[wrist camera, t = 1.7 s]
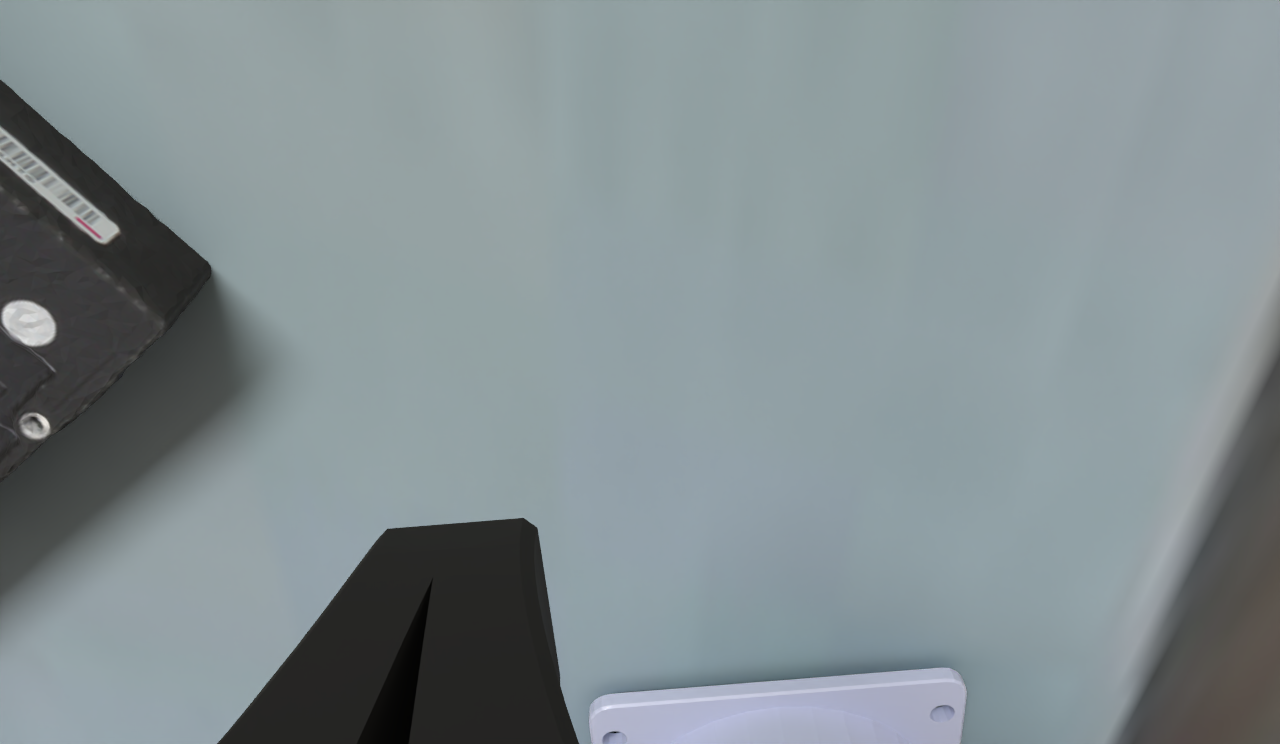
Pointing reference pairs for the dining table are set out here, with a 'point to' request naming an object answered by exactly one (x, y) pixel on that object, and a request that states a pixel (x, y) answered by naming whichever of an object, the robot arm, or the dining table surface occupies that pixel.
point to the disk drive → (73, 280)
